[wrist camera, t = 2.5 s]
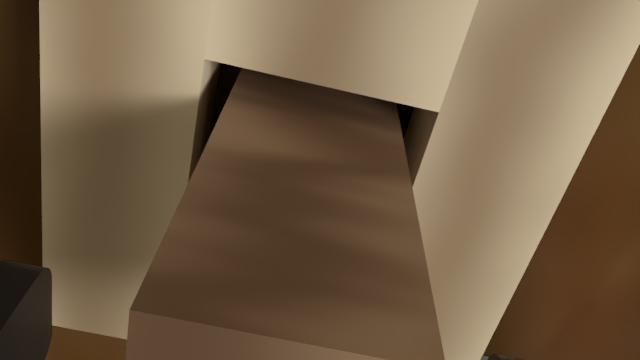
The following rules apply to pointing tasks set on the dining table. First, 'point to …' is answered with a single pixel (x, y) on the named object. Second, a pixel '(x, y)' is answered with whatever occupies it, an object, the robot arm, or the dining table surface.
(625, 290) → the dining table surface
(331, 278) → the walnut block
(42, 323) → the robot arm
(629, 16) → the pocket frame
